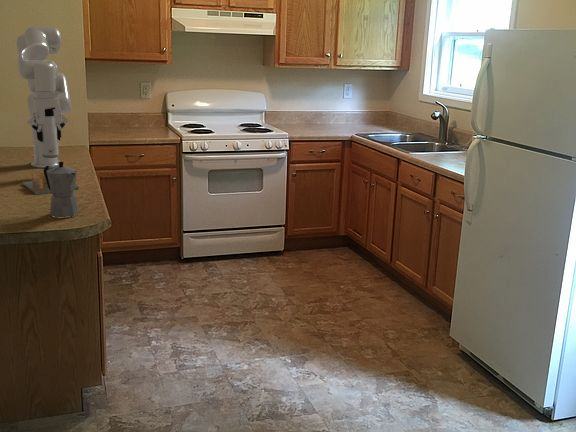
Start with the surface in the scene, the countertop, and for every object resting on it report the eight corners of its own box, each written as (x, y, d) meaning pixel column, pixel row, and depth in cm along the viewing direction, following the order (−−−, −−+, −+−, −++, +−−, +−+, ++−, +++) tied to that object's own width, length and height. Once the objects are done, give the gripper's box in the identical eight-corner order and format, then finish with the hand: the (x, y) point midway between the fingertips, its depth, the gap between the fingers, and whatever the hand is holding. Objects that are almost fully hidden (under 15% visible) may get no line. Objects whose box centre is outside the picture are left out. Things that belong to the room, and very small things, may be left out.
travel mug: (54, 158, 251) (50, 108, 244) (39, 157, 252) (35, 107, 245) (62, 155, 256) (59, 106, 250) (47, 153, 258) (44, 104, 251)
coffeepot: (89, 215, 210) (86, 162, 205) (66, 221, 203) (62, 167, 197) (59, 206, 218) (55, 155, 213) (35, 212, 211) (31, 160, 205)
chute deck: (22, 184, 244) (21, 172, 243) (64, 179, 254) (63, 167, 252) (35, 194, 231) (34, 181, 230) (78, 189, 241) (77, 176, 239)
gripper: (65, 92, 254) (68, 136, 260) (20, 94, 244) (24, 140, 250) (71, 95, 248) (74, 140, 254) (25, 97, 238) (29, 144, 244)
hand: (49, 140), depth 252 cm, fingers closed on travel mug, 6 cm apart
